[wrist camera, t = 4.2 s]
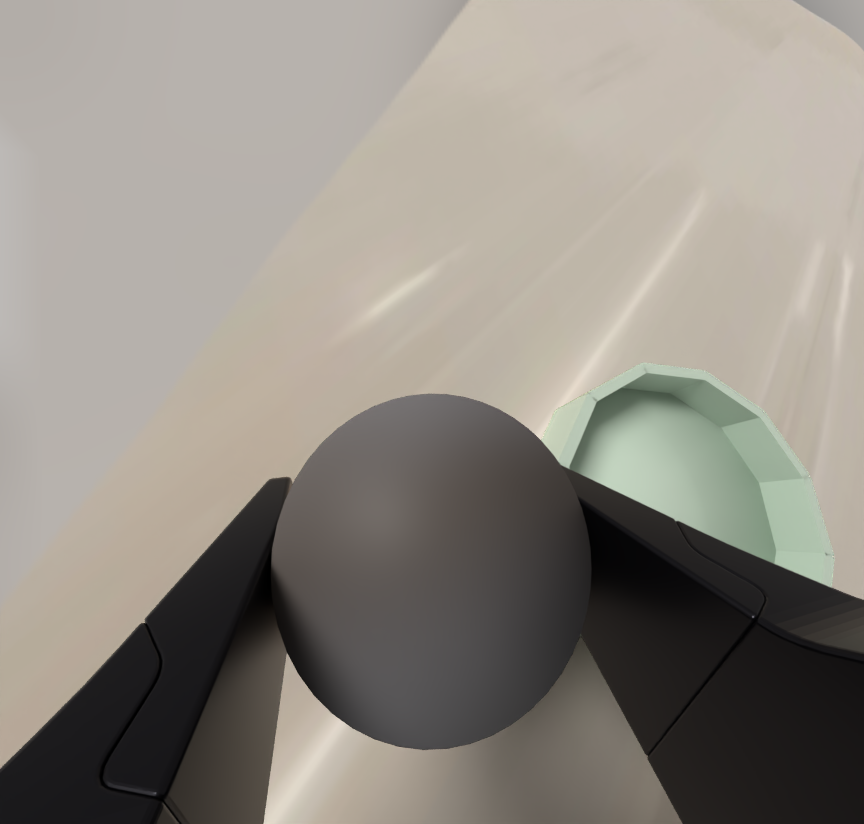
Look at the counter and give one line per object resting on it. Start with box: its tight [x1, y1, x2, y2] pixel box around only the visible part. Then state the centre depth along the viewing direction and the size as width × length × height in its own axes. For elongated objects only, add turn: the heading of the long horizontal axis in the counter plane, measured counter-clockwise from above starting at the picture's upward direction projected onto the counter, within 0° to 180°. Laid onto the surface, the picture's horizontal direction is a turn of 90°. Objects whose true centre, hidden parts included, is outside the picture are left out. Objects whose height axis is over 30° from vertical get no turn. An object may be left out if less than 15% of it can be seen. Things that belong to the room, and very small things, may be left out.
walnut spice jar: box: [271, 394, 592, 750], centre depth 10 cm, size 5×5×9 cm
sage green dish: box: [541, 363, 834, 637], centre depth 16 cm, size 13×13×2 cm
